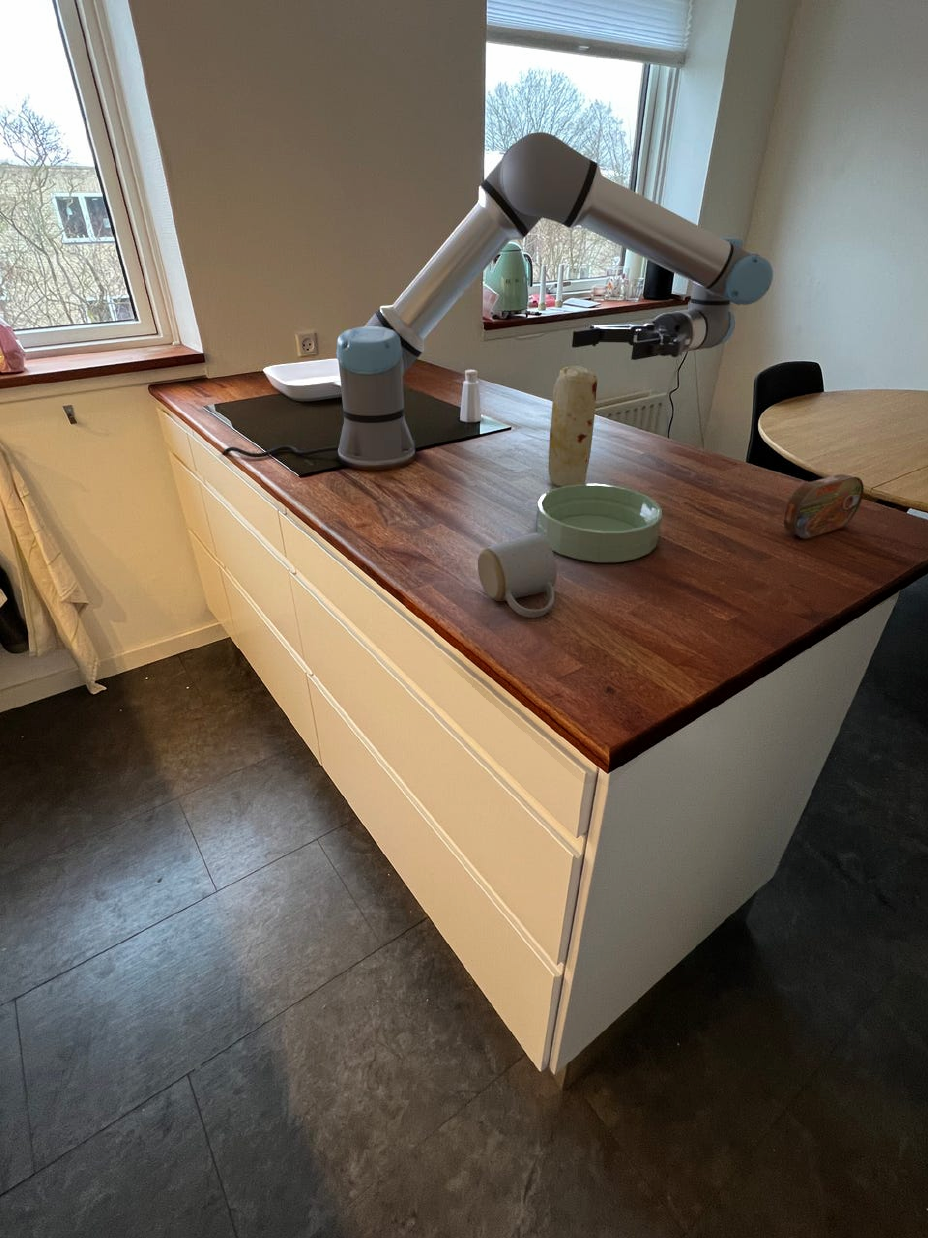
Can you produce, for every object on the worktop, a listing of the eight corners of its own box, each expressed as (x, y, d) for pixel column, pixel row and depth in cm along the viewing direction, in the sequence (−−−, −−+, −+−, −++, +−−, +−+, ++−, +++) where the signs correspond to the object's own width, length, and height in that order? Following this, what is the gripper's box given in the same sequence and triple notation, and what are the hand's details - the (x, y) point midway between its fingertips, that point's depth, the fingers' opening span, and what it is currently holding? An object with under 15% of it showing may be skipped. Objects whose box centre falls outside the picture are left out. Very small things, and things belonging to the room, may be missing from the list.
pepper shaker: (455, 421, 149) (455, 371, 143) (464, 415, 153) (464, 367, 147) (477, 423, 147) (477, 374, 141) (485, 417, 152) (486, 369, 145)
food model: (595, 488, 114) (610, 372, 103) (563, 494, 112) (574, 375, 100) (568, 471, 121) (578, 360, 110) (537, 475, 119) (545, 363, 108)
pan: (349, 373, 191) (347, 356, 188) (415, 405, 161) (414, 386, 158) (260, 384, 179) (257, 366, 176) (313, 420, 149) (311, 400, 146)
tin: (790, 543, 95) (807, 490, 91) (773, 535, 98) (788, 483, 93) (855, 524, 101) (873, 474, 97) (837, 517, 104) (854, 467, 99)
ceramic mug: (473, 586, 84) (474, 534, 80) (526, 573, 87) (530, 522, 83) (513, 628, 76) (516, 573, 72) (569, 611, 80) (576, 558, 75)
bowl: (569, 573, 88) (572, 540, 85) (517, 521, 102) (519, 491, 99) (680, 553, 93) (687, 522, 90) (616, 506, 107) (620, 478, 104)
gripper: (729, 364, 116) (657, 380, 105) (621, 344, 132) (550, 356, 121) (739, 319, 112) (666, 331, 101) (627, 304, 128) (553, 312, 117)
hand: (602, 344), depth 111 cm, fingers open, 13 cm apart
